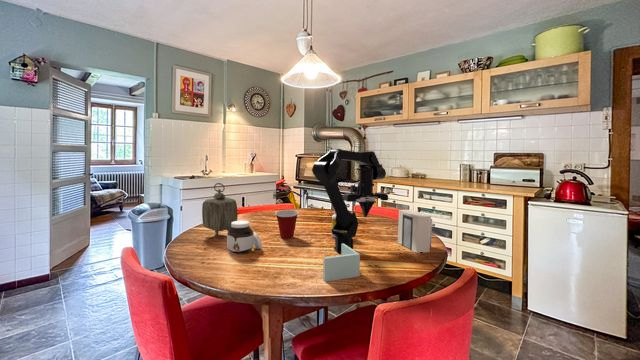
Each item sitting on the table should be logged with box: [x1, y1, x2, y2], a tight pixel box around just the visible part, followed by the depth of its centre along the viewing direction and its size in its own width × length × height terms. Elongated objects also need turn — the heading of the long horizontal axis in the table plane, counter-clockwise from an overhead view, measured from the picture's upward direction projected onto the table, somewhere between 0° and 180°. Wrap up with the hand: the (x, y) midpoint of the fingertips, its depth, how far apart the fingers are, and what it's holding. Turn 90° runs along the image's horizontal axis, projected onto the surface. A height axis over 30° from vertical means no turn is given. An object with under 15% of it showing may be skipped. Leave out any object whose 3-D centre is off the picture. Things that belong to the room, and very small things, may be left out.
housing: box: [397, 209, 432, 254], centre depth 125 cm, size 6×14×15 cm, turn 16°
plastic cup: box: [274, 209, 300, 240], centre depth 137 cm, size 11×11×12 cm
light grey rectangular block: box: [402, 218, 433, 250], centre depth 125 cm, size 10×5×12 cm, turn 106°
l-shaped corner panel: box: [322, 244, 361, 282], centre depth 98 cm, size 12×12×8 cm
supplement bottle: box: [331, 209, 347, 238], centre depth 140 cm, size 7×7×13 cm
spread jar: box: [226, 220, 263, 255], centre depth 119 cm, size 12×11×12 cm
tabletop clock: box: [201, 182, 239, 239], centre depth 137 cm, size 14×9×25 cm, turn 58°
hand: (365, 216), depth 128 cm, fingers closed
